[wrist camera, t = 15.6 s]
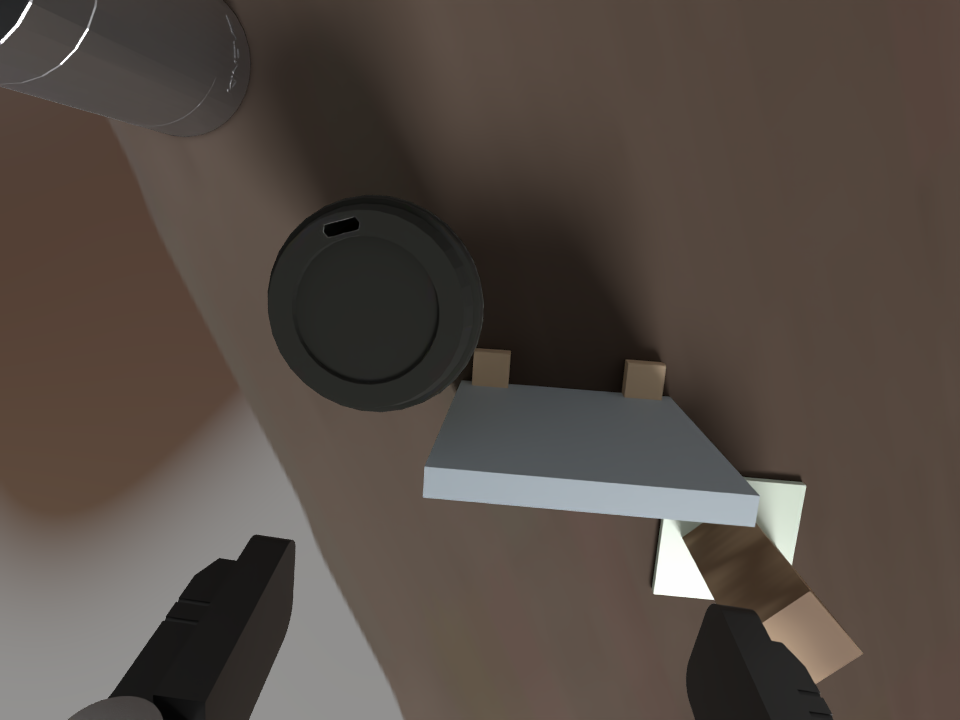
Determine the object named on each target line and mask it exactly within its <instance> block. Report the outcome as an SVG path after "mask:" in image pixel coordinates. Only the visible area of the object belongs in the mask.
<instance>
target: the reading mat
mask: <svg viewBox="0 0 960 720" xmlns="http://www.w3.org/2000/svg"><path fill="white" fill-rule="evenodd" d="M743 478H744V479H745V480H746V481H747V482H748V483H749V484H750V485H751V486H752V488H753V489H754V490H755V491H756V492H757V493H758V494H759V495H760V499H759V505H758V511H757V517H756V523H757V524H758V526H759V527H760V528H761V529H762V530H763V531H764V533H765V534H766V535H767V536H768V537H769V539H770V540H771V541H772V542H773V543H774V544H775V546H776V547H777V548H778V549H779V550H780V552H781V553H782V554H783V555H784V557H785V558H786V559H787V560H788V562H789V563H790V564H791V565H792V561H793V555H794V550H795V545H796V539H797V534H798V528H799V523H800V517H801V512H802V506H803V501H804V495H805V490H806V485H805V484H804V483H803V482H796V481H784V480H772V479H761V478H749V477H743ZM702 523H703V522H692V521H681V520H670V519H661V524H660V532H659V539H658V546H657V554H656V561H655V569H654V576H653V584H652V591H653V594H660V595H670V596H681V597H691V598H701V599H712V600H714V598H713V596H712V594H711V592H710V590H709V589H708V587H707V585H706V583H705V581H704V579H703V577H702V575H701V573H700V571H699V569H698V568H697V566H696V564H695V562H694V560H693V558H692V556H691V554H690V552H689V550H688V548H687V547H686V545H685V543H684V541H683V539H682V537H684V536H685V535H686V534H688V533H689V532H691V531H692V530H693V529H695V528H696V527H697V526H699V525H700V524H702Z"/></svg>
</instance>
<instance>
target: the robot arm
mask: <svg viewBox="0 0 960 720" xmlns="http://www.w3.org/2000/svg"><path fill="white" fill-rule="evenodd" d="M250 65H251V63H250V53H249V46H248V43H247V39H246V36H245V33H244V30H243V28H242V26H241V24H240V22H239V20H238V19H237V17H236V15H235V14H234V13H233V11H232V10H231V9H230V8H229V6H228V5H227V4H226V3H225V2H224V1H223V0H0V86H1V87H4V88H8V89H11V90H15V91H18V92H22V93H25V94H29V95H33V96H36V97H39V98H43V99H46V100H50V101H53V102H57V103H60V104H64V105H67V106H71V107H75V108H78V109H81V110H85V111H88V112H92V113H96V114H99V115H103V116H106V117H109V118H113V119H116V120H120V121H123V122H127V123H129V124H133V125H137V126H140V127H144V128H147V129H151V130H155V131H158V132H162V133H165V134H169V135H173V136H183V137H191V136H197V135H203V134H205V133H208V132H210V131H212V130H215V129H217V128H218V127H219V126H221V125H222V124H223V123H225V122H226V121H228V119H229V118H230V117H231V116H232V115H233V114H234V113H235V111H236V110H237V109H238V107H239V105H240V103H241V102H242V100H243V98H244V96H245V93H246V89H247V86H248V83H249V77H250ZM294 566H295V542H294V541H293V540H289V539H282V538H275V537H268V536H262V535H254V536H253V537H252V538H251V539H250V540H249V542H248V544H247V545H246V547H245V549H244V550H243V552H242V553H241V555H240V556H239V558H238V560H237V561H235V560H228V559H221V558H219V559H217V560H216V561H214V562H213V563H212V564H210V565H209V566H207V567H206V568H205V569H203V570H202V571H200V572H199V573H197V574H196V575H195V576H194V577H193V579H192V580H191V581H190V583H189V584H188V586H187V587H186V589H185V590H184V591H183V593H182V594H181V596H180V597H179V601H178V602H176V603H175V604H174V606H173V607H172V608H171V610H170V612H169V613H168V614H167V616H166V619H165V621H162V623H161V624H160V626H159V627H158V629H157V630H156V631H155V633H154V634H153V636H152V637H151V638H150V640H149V641H148V643H147V644H146V646H145V647H144V648H143V650H142V651H141V653H140V654H139V656H138V657H137V658H136V660H135V661H134V663H133V664H132V666H131V667H130V668H129V670H128V671H127V673H126V674H125V676H124V677H123V678H122V680H121V681H120V683H119V684H118V686H117V687H116V689H115V690H114V691H113V693H112V694H111V695H110V696H109V697H108V699H105V700H101V701H99V702H96V703H94V704H91V705H89V706H87V707H86V708H84V709H82V710H80V711H79V712H77V713H76V714H75V715H73V716H72V717H70V718H69V719H68V720H249V718H250V716H251V713H252V711H253V709H254V706H255V704H256V702H257V700H258V697H259V695H260V692H261V690H262V688H263V686H264V684H265V681H266V679H267V677H268V674H269V672H270V670H271V667H272V665H273V663H274V660H275V658H276V656H277V654H278V651H279V649H280V647H281V645H282V642H283V640H284V638H285V635H286V632H287V629H288V625H289V621H290V616H291V612H292V604H293V586H294ZM686 686H687V694H688V698H689V702H690V705H691V708H692V711H693V714H694V717H695V720H833V719H832V713H831V711H830V709H829V708H828V706H827V704H826V702H825V701H824V699H823V698H821V697H820V692H819V690H818V688H817V686H816V685H815V683H814V681H813V679H812V677H811V676H810V674H809V672H808V670H807V669H806V667H805V666H804V665H803V664H802V663H801V661H800V660H799V659H798V658H797V657H796V656H795V655H794V654H793V653H792V652H791V651H790V650H789V649H788V648H787V647H786V646H785V645H784V644H783V643H782V642H776V641H772V640H771V638H770V637H769V635H768V633H767V631H766V629H765V627H764V625H763V623H762V621H761V619H760V617H759V616H758V614H757V613H756V612H755V611H754V610H752V609H747V608H741V607H734V606H727V605H720V604H711V605H710V606H709V607H708V609H707V611H706V613H705V616H704V619H703V622H702V625H701V628H700V630H699V633H698V636H697V639H696V642H695V645H694V648H693V650H692V653H691V656H690V659H689V662H688V666H687V673H686Z"/></svg>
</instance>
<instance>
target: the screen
mask: <svg viewBox="0 0 960 720" xmlns="http://www.w3.org/2000/svg"><path fill="white" fill-rule="evenodd" d="M510 357H511V351H509V350H496V349H483V348H475V350H474V358H473V374H472V381H465V380H461V383H460V385H459V387H458V390H457V392H456V394H455V397H454V399H453V401H452V404H451V406H450V408H449V411H448V413H447V415H446V418H445V420H444V422H443V425H442V427H441V429H440V432H439V434H438V437H437V439H436V441H435V444H434V446H433V448H432V451H431V453H430V455H429V458H428V460H427V462H426V465H425V469H424V490H423V497H425V498H436V499H447V500H458V501H469V502H481V503H492V504H503V505H514V506H525V507H536V508H547V509H558V510H570V511H581V512H592V513H603V514H614V515H625V516H636V517H648V518H659V519H670V520H681V521H692V522H703V523H714V524H726V525H737V526H748V527H755V523H756V517H757V511H758V505H759V499H760V495H759V494H758V493H757V492H756V491H755V490H754V489H753V488H752V486H751V485H750V484H749V483H748V482H747V481H746V480H745V479H744V478H743V477H742V475H741V474H740V473H739V472H738V471H737V470H736V469H735V468H734V467H733V466H732V464H731V463H730V462H729V461H728V460H727V459H726V458H725V457H724V456H723V455H722V453H721V452H720V451H719V450H718V449H717V448H716V447H715V446H714V445H713V444H712V442H711V441H710V440H709V439H708V438H707V437H706V436H705V435H704V434H703V433H702V431H701V430H700V429H699V428H698V427H697V426H696V425H695V424H694V423H693V422H692V420H691V419H690V418H689V417H688V416H687V415H686V414H685V413H684V412H683V411H682V409H681V408H680V407H679V406H678V405H677V404H676V403H675V402H674V401H673V400H672V398H671V397H668V396H662V394H663V387H664V379H665V371H666V365H665V364H664V363H662V362H654V361H641V360H628V359H625V367H624V376H623V385H622V393H617V392H605V391H592V390H579V389H567V388H554V387H541V386H529V385H516V384H509V371H510Z"/></svg>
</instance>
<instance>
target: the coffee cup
mask: <svg viewBox="0 0 960 720" xmlns="http://www.w3.org/2000/svg"><path fill="white" fill-rule="evenodd" d="M483 307H484V301H483V294H482V287H481V281H480V278H479V275H478V272H477V269H476V266H475V264H474V261H473V259H472V257H471V256H470V254H469V252H468V250H467V249H466V247H465V245H464V244H463V242H462V241H461V239H460V238H459V237H458V236H457V235H456V234H455V233H454V232H453V230H452V229H451V228H450V227H449V226H448V225H447V224H446V223H445V222H443V221H442V220H441V219H439V218H438V217H437V216H435V215H434V214H433V213H431V212H430V211H428V210H426V209H424V208H422V207H420V206H418V205H416V204H414V203H412V202H410V201H406V200H402V199H398V198H394V197H390V196H377V195H364V196H357V197H351V198H345V199H343V200H340V201H337V202H335V203H332V204H330V205H327V206H325V207H323V208H322V209H320V210H318V211H317V212H315V213H314V214H312V215H311V216H309V217H308V218H306V219H305V220H304V221H303V222H302V223H301V224H300V225H299V226H298V227H297V228H296V229H295V230H294V231H293V232H292V233H291V234H290V236H289V237H288V239H287V240H286V242H285V243H284V245H283V246H282V248H281V249H280V251H279V253H278V256H277V258H276V261H275V263H274V266H273V268H272V271H271V276H270V282H269V288H268V314H269V320H270V325H271V329H272V334H273V337H274V339H275V341H276V344H277V346H278V349H279V351H280V353H281V355H282V356H283V358H284V359H285V361H286V362H287V364H288V365H289V367H290V368H291V369H292V370H293V372H294V373H295V374H296V375H297V376H298V377H299V378H300V379H301V380H302V381H303V382H304V383H305V384H306V385H308V386H309V387H310V388H312V389H313V390H314V391H316V392H317V393H319V394H320V395H321V396H323V397H325V398H327V399H329V400H331V401H333V402H335V403H337V404H340V405H342V406H346V407H350V408H353V409H357V410H361V411H374V412H386V411H394V410H402V409H405V408H408V407H411V406H414V405H417V404H420V403H423V402H425V401H426V400H428V399H430V398H432V397H433V396H435V395H437V394H439V393H440V392H442V391H443V390H444V389H445V388H446V387H447V386H449V385H450V384H451V383H452V382H453V381H454V380H455V379H456V378H457V377H458V376H459V374H460V373H461V372H462V370H463V369H464V368H465V367H466V365H467V364H468V362H469V360H470V358H471V356H472V354H473V352H474V350H475V348H476V346H477V344H478V340H479V336H480V332H481V328H482V324H483Z"/></svg>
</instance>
